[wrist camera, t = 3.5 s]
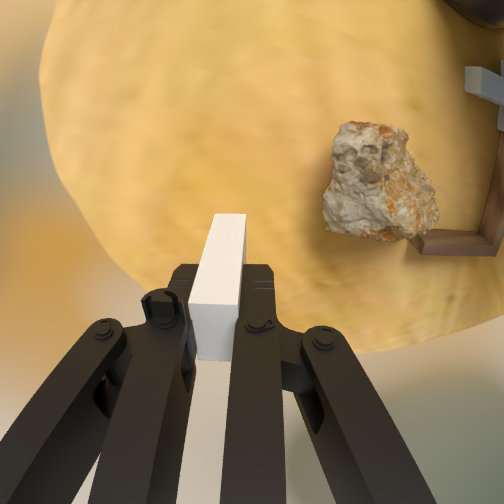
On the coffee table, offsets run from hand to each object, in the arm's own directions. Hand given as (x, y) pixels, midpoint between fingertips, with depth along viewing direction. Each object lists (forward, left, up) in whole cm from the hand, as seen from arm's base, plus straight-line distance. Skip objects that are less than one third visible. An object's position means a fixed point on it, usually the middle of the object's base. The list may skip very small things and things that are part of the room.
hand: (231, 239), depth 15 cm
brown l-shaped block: (0, +25, -15) cm, 29 cm away
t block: (-12, +27, -15) cm, 33 cm away
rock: (0, +12, -15) cm, 19 cm away
